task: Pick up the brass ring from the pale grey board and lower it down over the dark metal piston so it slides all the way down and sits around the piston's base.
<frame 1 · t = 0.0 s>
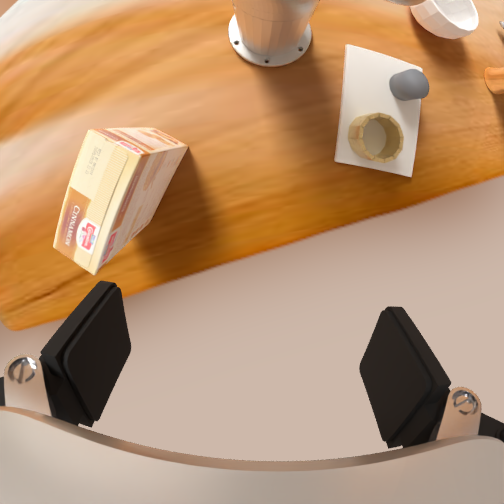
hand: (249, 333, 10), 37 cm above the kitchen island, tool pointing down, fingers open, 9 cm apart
brass ring: (369, 136, 39), point 1 cm above the kitchen island, touching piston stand
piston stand: (399, 87, 36), on the kitchen island
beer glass: (492, 80, 33), on the kitchen island
cup: (426, 16, 29), on the kitchen island
coffeecake box: (151, 176, 44), on the kitchen island
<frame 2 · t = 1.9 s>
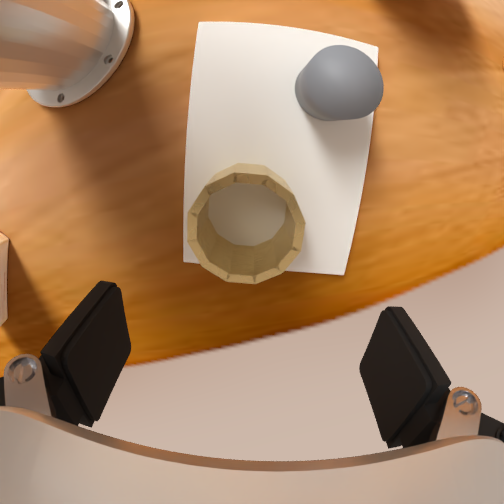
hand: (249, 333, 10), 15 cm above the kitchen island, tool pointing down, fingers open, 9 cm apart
brass ring: (247, 209, 22), point 1 cm above the kitchen island, touching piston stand
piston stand: (323, 92, 19), on the kitchen island
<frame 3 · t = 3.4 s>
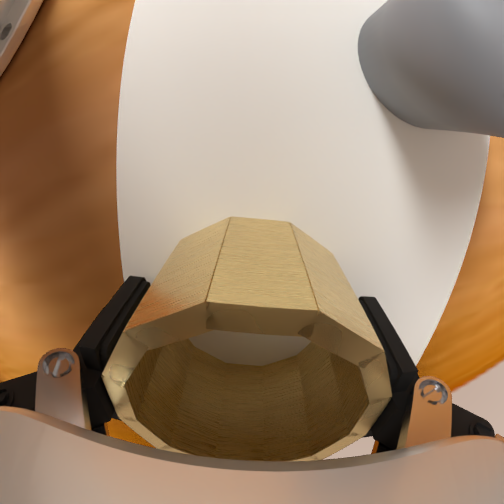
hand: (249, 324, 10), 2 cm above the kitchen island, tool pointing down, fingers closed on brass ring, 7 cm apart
brass ring: (250, 310, 11), point 1 cm above the kitchen island, touching gripper, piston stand
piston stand: (406, 69, 8), on the kitchen island
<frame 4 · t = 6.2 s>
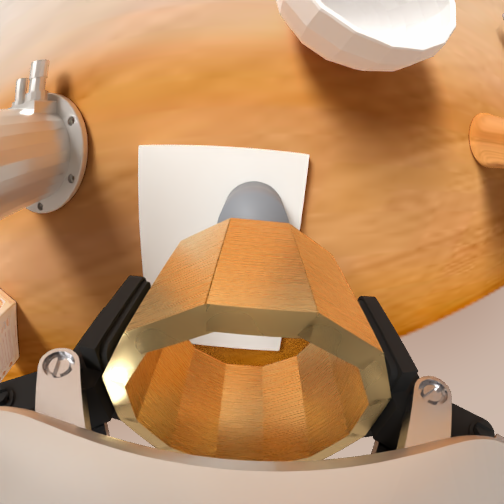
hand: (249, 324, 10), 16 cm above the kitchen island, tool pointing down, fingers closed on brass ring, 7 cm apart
brass ring: (250, 311, 11), point 15 cm above the kitchen island, touching gripper
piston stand: (253, 206, 24), on the kitchen island
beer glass: (485, 139, 21), on the kitchen island
cup: (340, 22, 17), on the kitchen island
coffeecake box: (4, 320, 32), on the kitchen island
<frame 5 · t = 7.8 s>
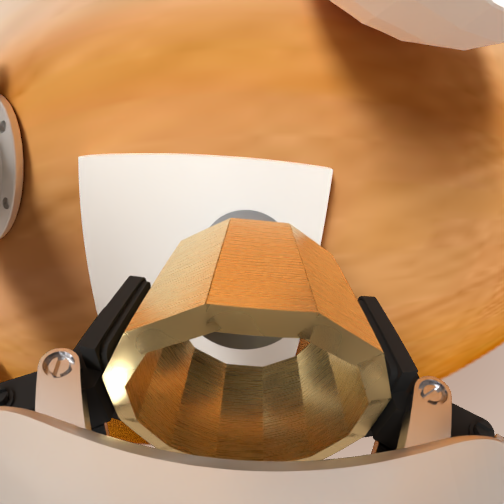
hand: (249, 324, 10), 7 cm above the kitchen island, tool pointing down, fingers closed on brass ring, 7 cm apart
brass ring: (250, 311, 11), point 6 cm above the kitchen island, touching gripper
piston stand: (246, 245, 16), on the kitchen island
when the fingers open (3 cm above the kitchen island, at t = 9.1 s): brass ring drops 1 cm, resting on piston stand.
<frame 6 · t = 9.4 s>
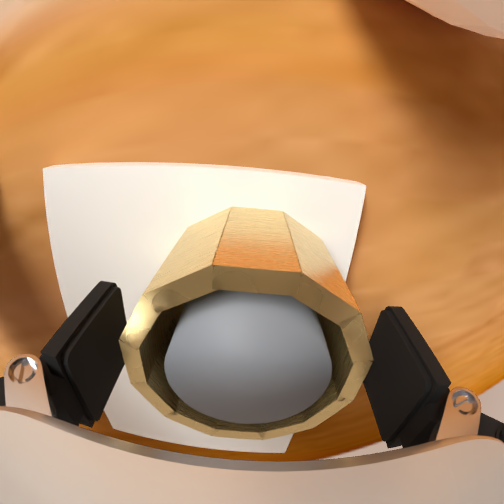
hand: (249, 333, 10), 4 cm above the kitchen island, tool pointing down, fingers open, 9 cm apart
brass ring: (249, 291, 12), point 1 cm above the kitchen island, touching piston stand
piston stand: (251, 280, 13), on the kitchen island
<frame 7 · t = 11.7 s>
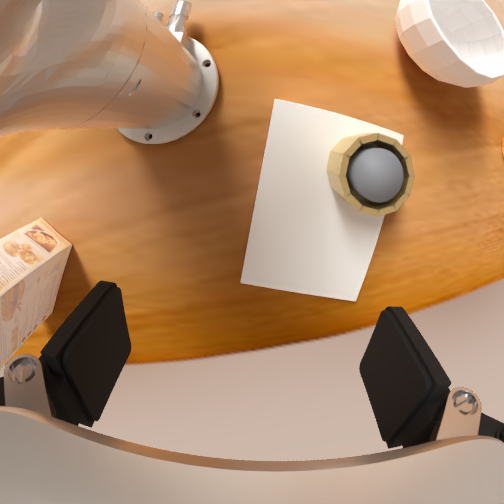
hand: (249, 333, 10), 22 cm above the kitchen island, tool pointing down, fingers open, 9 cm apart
brass ring: (360, 169, 27), point 1 cm above the kitchen island, touching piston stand
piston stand: (358, 168, 28), on the kitchen island
cup: (425, 45, 21), on the kitchen island
coffeecake box: (46, 268, 34), on the kitchen island
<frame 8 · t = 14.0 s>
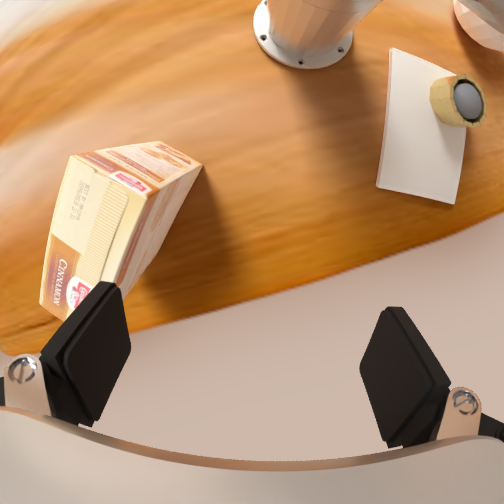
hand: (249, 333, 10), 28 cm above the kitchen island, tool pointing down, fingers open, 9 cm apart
brass ring: (448, 101, 28), point 1 cm above the kitchen island, touching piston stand
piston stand: (445, 102, 29), on the kitchen island
cup: (468, 22, 23), on the kitchen island
coffeecake box: (156, 200, 37), on the kitchen island
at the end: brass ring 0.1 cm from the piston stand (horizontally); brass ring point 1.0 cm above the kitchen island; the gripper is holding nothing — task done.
